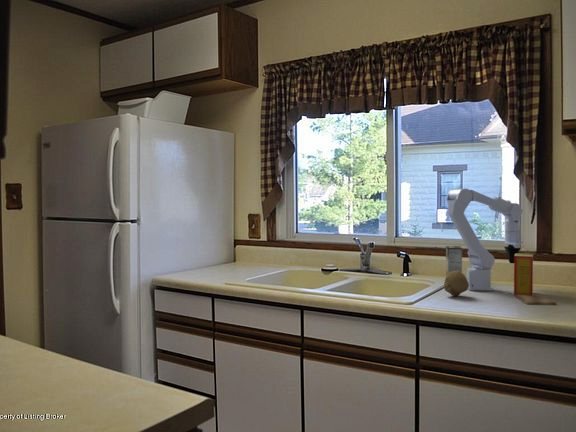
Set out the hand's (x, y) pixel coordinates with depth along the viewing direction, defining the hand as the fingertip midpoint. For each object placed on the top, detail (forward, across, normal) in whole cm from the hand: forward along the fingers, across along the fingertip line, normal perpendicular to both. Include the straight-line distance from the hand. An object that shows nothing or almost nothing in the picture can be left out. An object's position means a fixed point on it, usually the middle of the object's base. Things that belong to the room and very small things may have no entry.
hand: (512, 263), depth 215 cm
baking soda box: (+10, -14, 0) cm, 18 cm away
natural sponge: (+10, -21, +27) cm, 36 cm away
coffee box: (+10, +13, +22) cm, 27 cm away
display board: (+10, -27, 0) cm, 29 cm away
